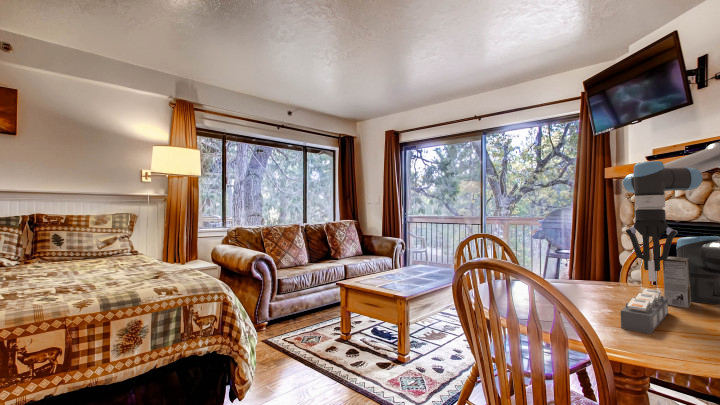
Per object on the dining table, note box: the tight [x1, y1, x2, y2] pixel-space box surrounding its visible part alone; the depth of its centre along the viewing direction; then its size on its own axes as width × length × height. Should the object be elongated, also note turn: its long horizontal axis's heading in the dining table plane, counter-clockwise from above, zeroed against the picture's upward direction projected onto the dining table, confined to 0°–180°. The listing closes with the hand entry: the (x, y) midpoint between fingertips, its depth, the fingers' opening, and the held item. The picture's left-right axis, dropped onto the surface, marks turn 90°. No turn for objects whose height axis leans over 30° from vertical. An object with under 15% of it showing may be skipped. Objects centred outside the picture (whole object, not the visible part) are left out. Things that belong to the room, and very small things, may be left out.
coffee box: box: [662, 255, 692, 309], centre depth 118 cm, size 9×6×16 cm
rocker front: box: [627, 297, 650, 311], centre depth 96 cm, size 6×4×1 cm, turn 130°
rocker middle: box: [635, 292, 656, 306], centre depth 101 cm, size 6×4×1 cm, turn 130°
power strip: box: [620, 295, 669, 335], centre depth 101 cm, size 27×7×6 cm, turn 130°
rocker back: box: [642, 288, 662, 300], centre depth 107 cm, size 6×4×1 cm, turn 130°
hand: (652, 280), depth 109 cm, fingers closed
